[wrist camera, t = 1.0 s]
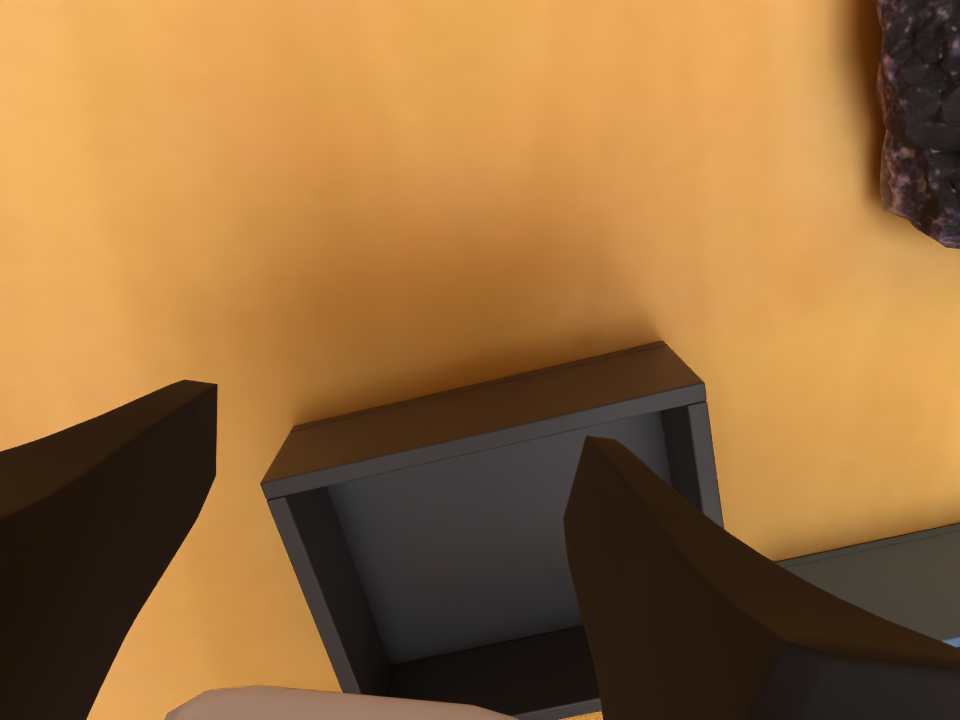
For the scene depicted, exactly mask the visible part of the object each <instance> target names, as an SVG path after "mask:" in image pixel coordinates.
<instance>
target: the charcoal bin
mask: <svg viewBox="0 0 960 720" xmlns="http://www.w3.org/2000/svg"><path fill="white" fill-rule="evenodd" d="M586 435H587V436H595V437H602V438H609V439H616V440H617V441H619V442H620V443H621V444H623V445H624V446H625V447H626V448H628V449H629V450H630V451H631V452H632V453H633V454H635V455H636V456H637V457H638V458H639V459H640V460H641V461H643V462H644V463H645V464H646V465H647V466H648V467H649V468H650V469H651V470H653V471H654V472H655V473H656V474H657V475H658V476H659V477H660V478H662V479H663V480H664V481H665V482H666V483H667V484H668V485H670V486H671V487H672V488H673V489H674V490H675V491H676V492H678V493H679V494H680V495H681V496H682V497H684V498H685V499H686V500H687V501H688V502H690V503H691V504H692V505H693V506H694V507H696V508H697V509H698V510H699V511H701V512H702V513H703V514H705V515H706V516H707V517H708V518H710V519H711V520H712V521H714V522H715V523H716V524H717V525H719V526H720V527H721V528H723V529H724V526H723V518H722V510H721V503H720V495H719V488H718V480H717V473H716V465H715V458H714V450H713V443H712V435H711V428H710V420H709V413H708V405H707V401H706V390H705V383H704V382H703V381H702V380H701V379H700V378H699V377H698V376H697V375H696V374H695V373H694V372H693V371H692V370H691V369H690V368H689V367H688V366H687V365H686V364H685V362H684V361H683V360H682V359H681V358H680V357H679V356H678V355H677V354H676V353H675V352H674V351H673V350H672V349H671V348H670V347H669V346H668V345H667V344H666V343H665V342H664V341H661V342H656V343H652V344H648V345H643V346H639V347H635V348H630V349H626V350H622V351H617V352H613V353H609V354H604V355H600V356H596V357H591V358H587V359H583V360H579V361H574V362H570V363H566V364H561V365H557V366H553V367H548V368H544V369H540V370H535V371H531V372H527V373H522V374H518V375H514V376H510V377H505V378H501V379H497V380H492V381H488V382H484V383H479V384H475V385H471V386H466V387H462V388H458V389H453V390H449V391H445V392H440V393H436V394H432V395H428V396H423V397H419V398H415V399H410V400H406V401H402V402H397V403H393V404H389V405H384V406H380V407H376V408H371V409H367V410H363V411H359V412H354V413H350V414H346V415H341V416H337V417H333V418H328V419H324V420H320V421H315V422H311V423H307V424H302V425H298V426H294V427H293V428H292V429H291V431H290V433H289V435H288V437H287V438H286V440H285V442H284V443H283V445H282V447H281V449H280V450H279V452H278V454H277V455H276V457H275V459H274V461H273V462H272V464H271V466H270V467H269V469H268V471H267V473H266V474H265V476H264V478H263V479H262V481H261V483H260V485H261V488H262V490H263V493H264V495H265V498H266V499H268V500H267V503H268V506H269V508H270V511H271V513H272V516H273V518H274V521H275V523H276V526H277V528H278V531H279V533H280V536H281V538H282V541H283V543H284V546H285V548H286V551H287V554H288V556H289V559H290V561H291V564H292V566H293V569H294V571H295V574H296V576H297V579H298V581H299V584H300V586H301V589H302V591H303V594H304V596H305V599H306V601H307V604H308V606H309V609H310V611H311V614H312V616H313V619H314V621H315V624H316V626H317V629H318V631H319V634H320V636H321V639H322V642H323V644H324V647H325V649H326V652H327V654H328V657H329V659H330V662H331V664H332V667H333V669H334V672H335V674H336V677H337V679H338V682H339V684H340V687H341V689H342V692H343V693H349V694H360V695H371V696H381V697H392V698H403V699H414V700H424V701H435V702H446V703H456V704H467V705H474V706H478V707H481V708H484V709H488V710H491V711H494V712H498V713H501V714H505V715H508V716H511V717H514V718H516V719H518V720H559V719H564V718H569V717H574V716H579V715H584V714H589V713H594V712H598V711H602V707H601V700H600V694H599V687H598V681H597V677H596V672H595V667H594V663H593V658H592V655H591V651H590V647H589V643H588V639H587V635H586V632H585V628H584V624H583V620H582V616H581V612H580V609H579V605H578V601H577V597H576V593H575V589H574V585H573V581H572V577H571V573H570V569H569V565H568V559H567V551H566V543H565V533H564V522H563V517H564V514H565V510H566V506H567V503H568V499H569V496H570V492H571V488H572V485H573V481H574V478H575V474H576V470H577V467H578V463H579V459H580V456H581V452H582V449H583V445H584V441H585V438H586Z"/></svg>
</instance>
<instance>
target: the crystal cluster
mask: <svg viewBox="0 0 960 720" xmlns="http://www.w3.org/2000/svg"><path fill="white" fill-rule="evenodd" d="M875 3H876V9H877V15H878V19H879V22H880V26H881V29H882V32H883V40H882V48H881V55H880V64H879V67H878V75H877V83H876V96H877V98H878V101H879V103H880V106H881V108H882V111H883V122H884V124H885V129H886V134H885V138H884V143H883V147H882V157H881V169H880V190H881V199H882V204H883V208H884V211H887V212H890V213H892V214H895V215H898V216H901V217H903V218H906V219H908V220H909V221H910V222H911V224H912V225H913V226H914V227H915V228H916V229H917V230H918V231H922V232H923V233H924V234H926V235H928V236H929V237H931V238H933V239H934V240H936V241H938V242H939V243H941V244H942V245H944V246H945V247H948V248H957V249H960V0H875Z"/></svg>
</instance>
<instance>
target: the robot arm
mask: <svg viewBox="0 0 960 720" xmlns="http://www.w3.org/2000/svg"><path fill="white" fill-rule="evenodd" d="M217 386H218V384H212V383H205V382H198V381H190V380H182V381H179V382H176V383H173V384H171V385H168V386H166V387H164V388H161V389H159V390H157V391H154V392H152V393H150V394H148V395H145V396H143V397H141V398H139V399H136V400H134V401H132V402H130V403H127V404H125V405H123V406H121V407H118V408H116V409H114V410H112V411H109V412H107V413H105V414H102V415H100V416H98V417H95V418H93V419H90V420H88V421H85V422H83V423H80V424H77V425H75V426H72V427H70V428H67V429H65V430H62V431H60V432H57V433H55V434H52V435H50V436H47V437H44V438H41V439H38V440H36V441H33V442H30V443H27V444H24V445H21V446H18V447H14V448H11V449H8V450H4V451H1V452H0V720H86V719H87V717H88V714H89V712H90V710H91V708H92V706H93V703H94V701H95V699H96V697H97V695H98V692H99V690H100V688H101V686H102V684H103V682H104V680H105V678H106V676H107V674H108V672H109V669H110V667H111V665H112V663H113V661H114V659H115V657H116V655H117V653H118V651H119V649H120V647H121V645H122V642H123V640H124V638H125V636H126V635H127V633H128V631H129V629H130V628H131V626H132V624H133V622H134V620H135V619H136V617H137V615H138V613H139V612H140V610H141V609H142V607H143V605H144V604H145V602H146V601H147V599H148V597H149V596H150V594H151V593H152V591H153V589H154V588H155V586H156V585H157V583H158V581H159V580H160V578H161V577H162V575H163V573H164V572H165V570H166V568H167V567H168V565H169V564H170V562H171V560H172V559H173V557H174V556H175V554H176V552H177V551H178V549H179V548H180V546H181V544H182V543H183V541H184V539H185V538H186V536H187V535H188V533H189V531H190V530H191V528H192V526H193V525H194V523H195V521H196V520H197V518H198V515H199V513H200V511H201V509H202V507H203V504H204V502H205V500H206V498H207V495H208V493H209V490H210V488H211V486H212V483H213V481H214V478H215V476H216V441H217ZM563 522H564V533H565V543H566V551H567V559H568V565H569V569H570V573H571V577H572V581H573V585H574V589H575V593H576V597H577V601H578V605H579V609H580V612H581V616H582V620H583V624H584V628H585V632H586V635H587V639H588V643H589V647H590V651H591V655H592V658H593V663H594V667H595V672H596V677H597V681H598V687H599V694H600V700H601V707H602V714H603V720H960V650H959V649H958V648H956V647H955V646H952V645H950V644H947V643H945V642H942V641H939V640H937V639H934V638H932V637H929V636H927V635H924V634H922V633H919V632H917V631H914V630H912V629H909V628H906V627H904V626H901V625H899V624H896V623H894V622H891V621H889V620H886V619H884V618H882V617H879V616H877V615H875V614H873V613H871V612H868V611H866V610H864V609H862V608H860V607H858V606H856V605H853V604H851V603H849V602H847V601H845V600H843V599H840V598H839V597H837V596H835V595H833V594H831V593H829V592H827V591H825V590H823V589H821V588H819V587H817V586H815V585H813V584H811V583H809V582H808V581H806V580H804V579H802V578H800V577H799V576H797V575H795V574H793V573H792V572H790V571H788V570H786V569H784V568H783V567H781V566H779V565H777V564H776V563H774V562H773V561H771V560H769V559H768V558H766V557H764V556H763V555H761V554H760V553H758V552H757V551H755V550H754V549H752V548H751V547H749V546H748V545H746V544H745V543H743V542H742V541H740V540H739V539H737V538H736V537H734V536H733V535H731V534H730V533H728V532H727V531H726V530H724V529H723V528H721V527H720V526H719V525H717V524H716V523H715V522H714V521H712V520H711V519H710V518H708V517H707V516H706V515H705V514H703V513H702V512H701V511H699V510H698V509H697V508H696V507H694V506H693V505H692V504H691V503H690V502H688V501H687V500H686V499H685V498H684V497H682V496H681V495H680V494H679V493H678V492H676V491H675V490H674V489H673V488H672V487H671V486H670V485H668V484H667V483H666V482H665V481H664V480H663V479H662V478H660V477H659V476H658V475H657V474H656V473H655V472H654V471H653V470H651V469H650V468H649V467H648V466H647V465H646V464H645V463H644V462H643V461H641V460H640V459H639V458H638V457H637V456H636V455H635V454H633V453H632V452H631V451H630V450H629V449H628V448H626V447H625V446H624V445H623V444H621V443H620V442H619V441H617V440H616V439H609V438H602V437H595V436H587V435H586V438H585V441H584V445H583V449H582V452H581V456H580V459H579V463H578V467H577V470H576V474H575V478H574V481H573V485H572V488H571V492H570V496H569V499H568V503H567V506H566V510H565V514H564V517H563ZM165 720H518V719H516V718H514V717H511V716H508V715H505V714H501V713H498V712H494V711H491V710H488V709H484V708H481V707H478V706H474V705H467V704H456V703H446V702H435V701H424V700H414V699H403V698H392V697H381V696H371V695H360V694H349V693H339V692H328V691H317V690H307V689H296V688H285V687H275V686H264V685H254V686H244V687H233V688H222V689H212V690H208V691H205V692H203V693H201V694H200V695H198V696H196V697H195V698H193V699H191V700H189V701H188V702H186V703H184V704H183V705H181V706H179V707H178V708H176V709H174V710H172V711H171V712H169V713H167V715H166V718H165Z"/></svg>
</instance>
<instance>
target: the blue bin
mask: <svg viewBox="0 0 960 720" xmlns="http://www.w3.org/2000/svg"><path fill="white" fill-rule="evenodd" d="M775 563H776V564H777V565H779V566H781V567H783V568H784V569H786V570H788V571H790V572H792V573H793V574H795V575H797V576H799V577H800V578H802V579H804V580H806V581H808V582H809V583H811V584H813V585H815V586H817V587H819V588H821V589H823V590H825V591H827V592H829V593H831V594H833V595H835V596H837V597H839V598H840V599H843V600H845V601H847V602H849V603H851V604H853V605H856V606H858V607H860V608H862V609H864V610H866V611H868V612H871V613H873V614H875V615H877V616H879V617H882V618H884V619H886V620H889V621H891V622H894V623H896V624H899V625H901V626H904V627H906V628H909V629H912V630H914V631H917V632H919V633H922V634H924V635H927V636H929V637H932V638H934V639H937V640H939V641H942V642H945V643H947V644H950V645H952V646H955V647H956V648H958V649H959V650H960V523H959V524H955V525H950V526H945V527H941V528H936V529H931V530H926V531H922V532H917V533H912V534H908V535H903V536H898V537H893V538H889V539H884V540H879V541H875V542H870V543H865V544H860V545H856V546H851V547H846V548H842V549H837V550H832V551H827V552H823V553H818V554H813V555H808V556H804V557H799V558H794V559H790V560H785V561H780V562H775Z"/></svg>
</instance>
